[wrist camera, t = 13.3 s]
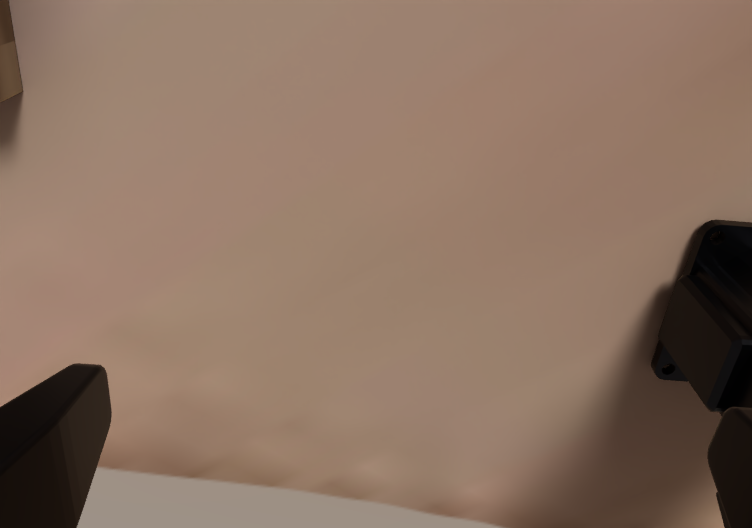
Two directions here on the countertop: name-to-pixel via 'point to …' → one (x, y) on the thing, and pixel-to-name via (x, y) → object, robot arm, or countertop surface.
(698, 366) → the robot arm
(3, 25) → the square wooden frame
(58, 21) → the countertop surface
